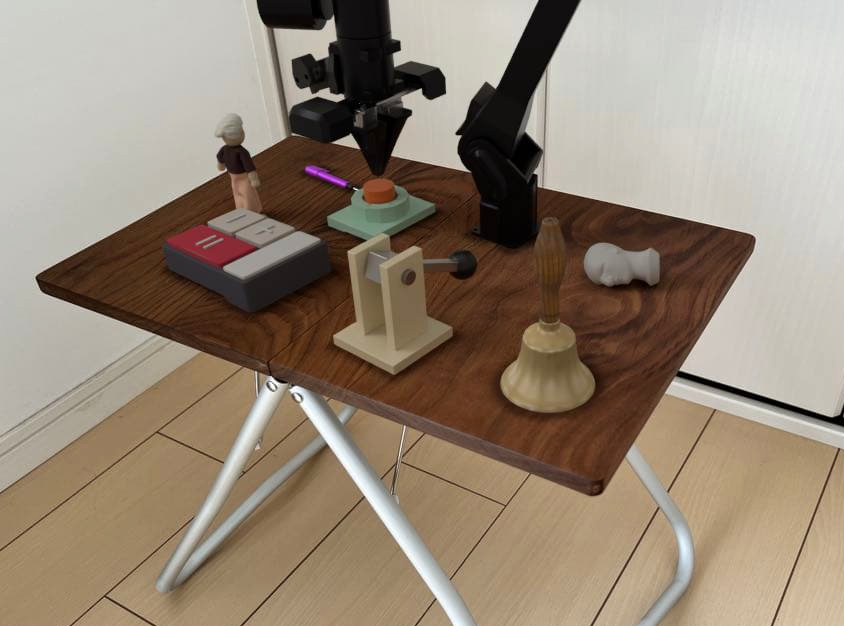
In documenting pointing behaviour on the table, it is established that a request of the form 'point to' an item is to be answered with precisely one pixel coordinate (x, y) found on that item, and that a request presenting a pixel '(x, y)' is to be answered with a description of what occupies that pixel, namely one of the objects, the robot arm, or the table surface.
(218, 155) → the grandmother figurine
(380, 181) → the button
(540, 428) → the table surface
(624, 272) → the smooth white sculpture
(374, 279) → the lever
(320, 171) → the purple fountain pen
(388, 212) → the button box
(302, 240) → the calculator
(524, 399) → the hand bell
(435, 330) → the bracket
